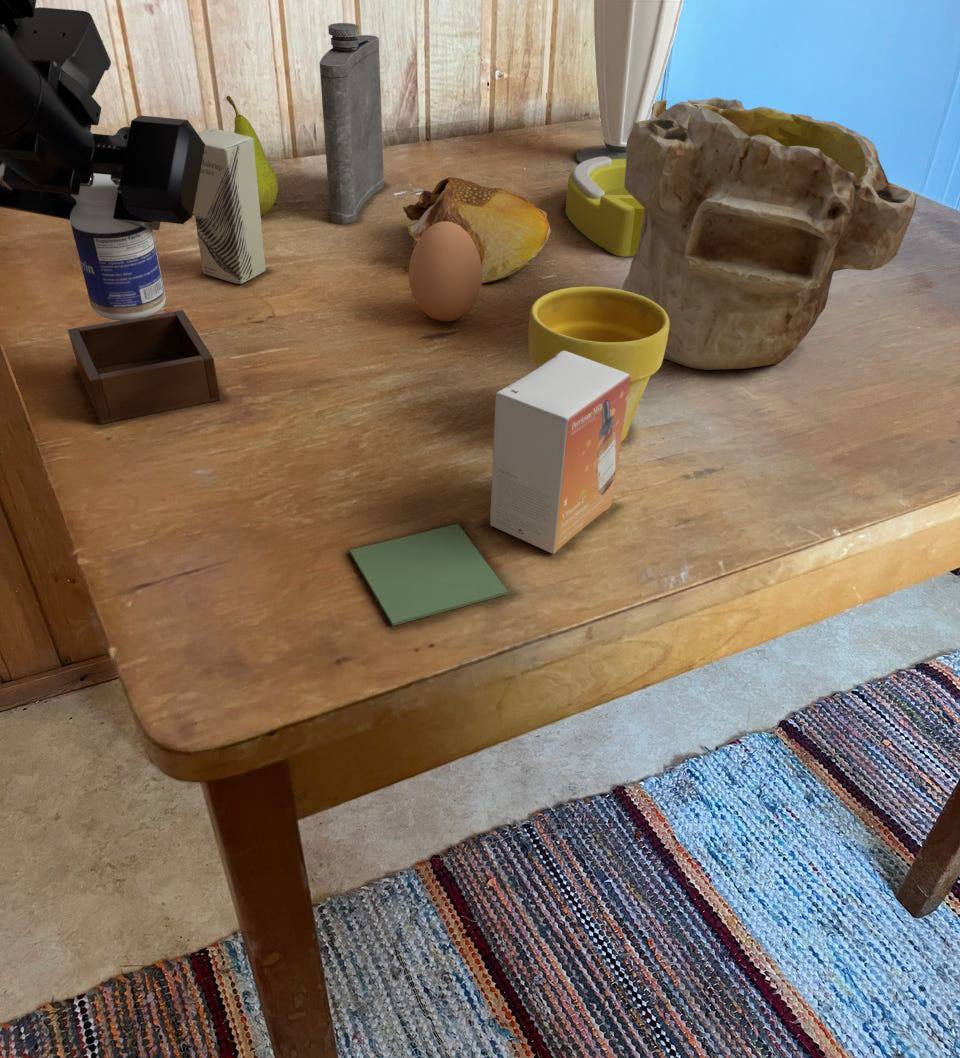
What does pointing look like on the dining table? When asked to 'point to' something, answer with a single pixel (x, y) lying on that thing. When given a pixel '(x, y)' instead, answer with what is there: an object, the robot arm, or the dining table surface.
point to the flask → (351, 120)
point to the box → (229, 208)
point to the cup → (629, 65)
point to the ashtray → (604, 205)
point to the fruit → (258, 164)
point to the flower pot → (602, 333)
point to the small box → (557, 449)
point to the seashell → (484, 223)
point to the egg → (445, 272)
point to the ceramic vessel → (752, 225)
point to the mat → (427, 574)
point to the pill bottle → (115, 256)
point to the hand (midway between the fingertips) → (121, 219)
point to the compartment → (144, 366)
